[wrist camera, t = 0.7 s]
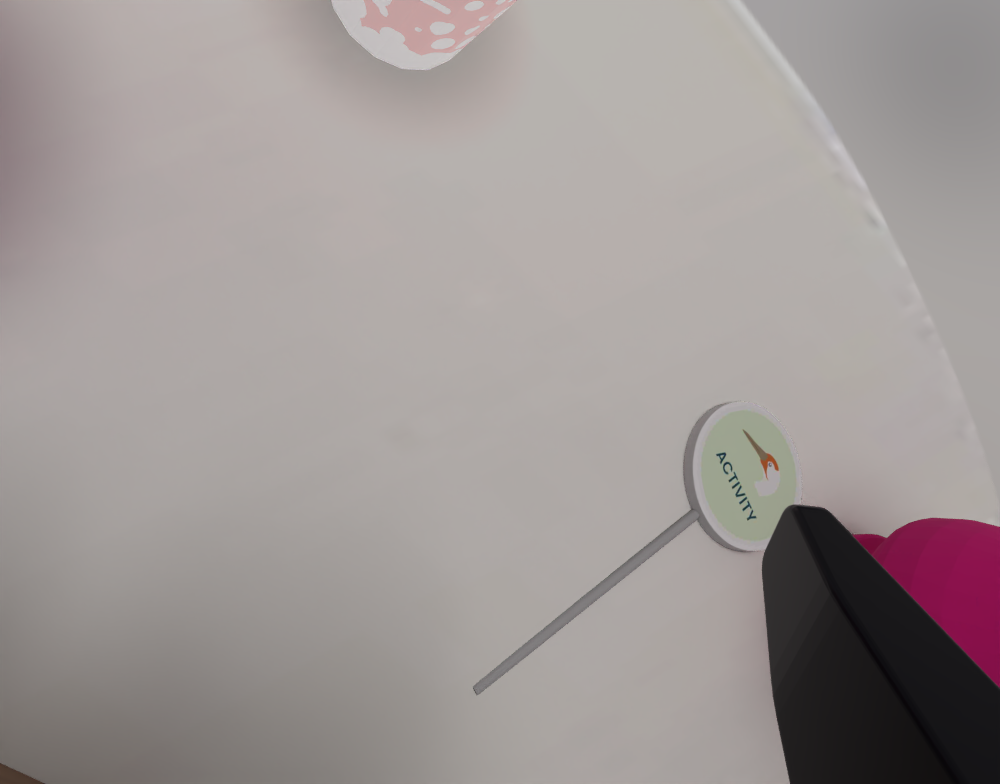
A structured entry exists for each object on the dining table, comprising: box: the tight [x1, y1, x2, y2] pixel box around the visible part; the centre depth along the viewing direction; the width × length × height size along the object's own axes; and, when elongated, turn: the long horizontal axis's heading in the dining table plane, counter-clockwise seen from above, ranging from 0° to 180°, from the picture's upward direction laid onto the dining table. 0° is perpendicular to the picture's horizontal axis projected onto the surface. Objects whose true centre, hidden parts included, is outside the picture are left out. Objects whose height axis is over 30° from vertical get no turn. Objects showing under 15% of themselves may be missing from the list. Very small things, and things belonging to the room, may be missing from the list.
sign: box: [473, 401, 802, 695], centre depth 28 cm, size 5×1×15 cm
